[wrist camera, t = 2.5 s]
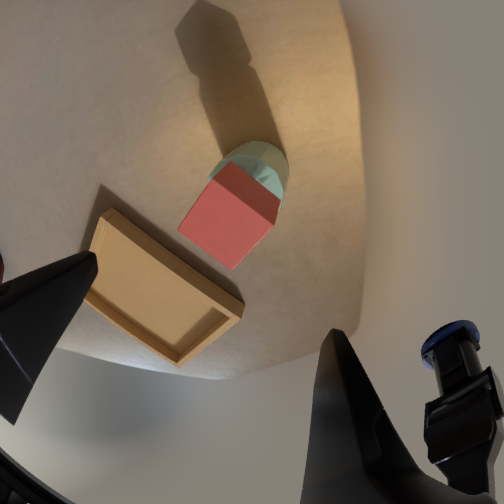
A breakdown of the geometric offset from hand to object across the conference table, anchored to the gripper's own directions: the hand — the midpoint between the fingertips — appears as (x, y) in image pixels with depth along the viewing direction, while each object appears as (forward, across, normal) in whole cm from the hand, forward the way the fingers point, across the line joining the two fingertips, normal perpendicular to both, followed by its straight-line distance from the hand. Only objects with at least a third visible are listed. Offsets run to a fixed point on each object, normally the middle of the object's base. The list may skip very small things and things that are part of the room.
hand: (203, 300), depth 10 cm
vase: (+14, +1, 0) cm, 14 cm away
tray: (+14, +9, +17) cm, 24 cm away
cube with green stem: (+14, +1, 0) cm, 14 cm away
